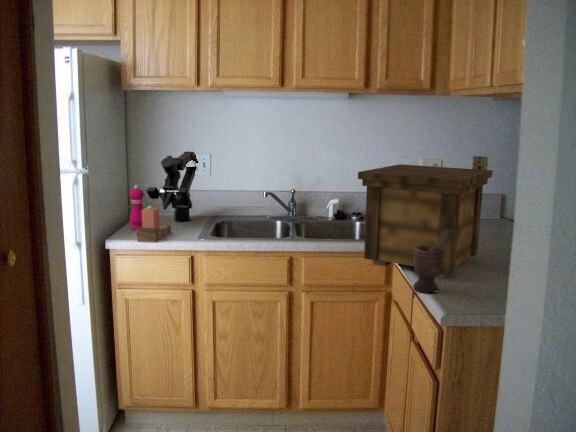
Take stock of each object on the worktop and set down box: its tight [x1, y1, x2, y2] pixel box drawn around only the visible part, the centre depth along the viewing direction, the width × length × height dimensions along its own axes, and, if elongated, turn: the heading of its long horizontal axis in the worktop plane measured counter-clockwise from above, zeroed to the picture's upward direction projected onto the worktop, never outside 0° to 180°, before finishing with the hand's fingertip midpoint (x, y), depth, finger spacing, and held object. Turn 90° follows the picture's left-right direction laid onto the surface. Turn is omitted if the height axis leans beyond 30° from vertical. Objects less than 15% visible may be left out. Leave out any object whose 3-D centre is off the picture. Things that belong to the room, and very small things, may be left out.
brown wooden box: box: [136, 224, 172, 243], centre depth 220 cm, size 17×8×6 cm, turn 172°
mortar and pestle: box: [412, 229, 454, 294], centre depth 154 cm, size 12×9×20 cm
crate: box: [357, 164, 493, 278], centre depth 183 cm, size 35×35×33 cm
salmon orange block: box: [142, 205, 161, 231], centre depth 215 cm, size 6×5×11 cm
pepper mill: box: [129, 184, 144, 231], centre depth 233 cm, size 7×7×20 cm
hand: (164, 209), depth 230 cm, fingers closed
